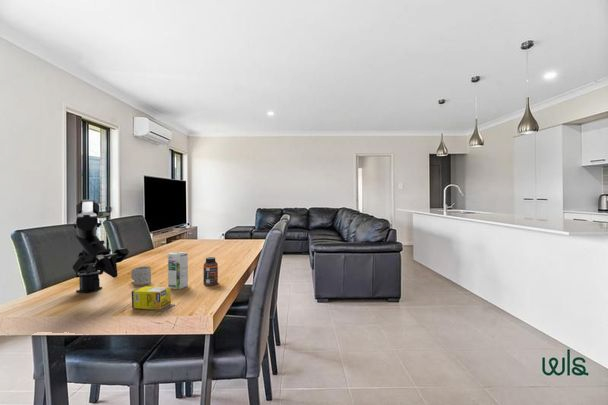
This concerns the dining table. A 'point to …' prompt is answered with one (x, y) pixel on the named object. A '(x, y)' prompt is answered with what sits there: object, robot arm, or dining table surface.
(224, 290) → the dining table surface
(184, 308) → the dining table surface
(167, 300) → the supplement box
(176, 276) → the syrup box
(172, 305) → the mat
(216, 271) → the supplement bottle
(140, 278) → the grey box
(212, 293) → the dining table surface
